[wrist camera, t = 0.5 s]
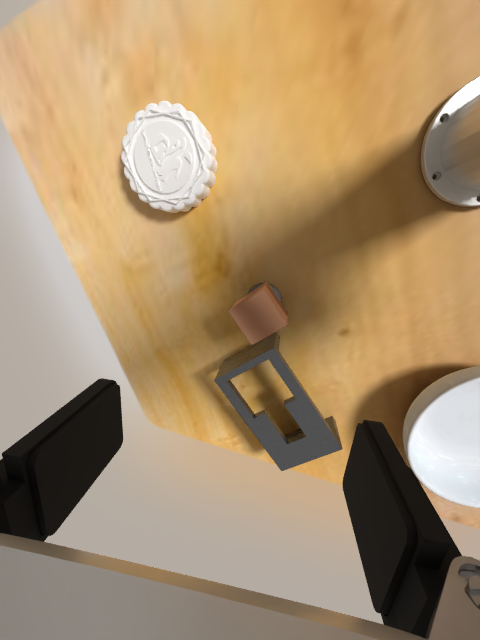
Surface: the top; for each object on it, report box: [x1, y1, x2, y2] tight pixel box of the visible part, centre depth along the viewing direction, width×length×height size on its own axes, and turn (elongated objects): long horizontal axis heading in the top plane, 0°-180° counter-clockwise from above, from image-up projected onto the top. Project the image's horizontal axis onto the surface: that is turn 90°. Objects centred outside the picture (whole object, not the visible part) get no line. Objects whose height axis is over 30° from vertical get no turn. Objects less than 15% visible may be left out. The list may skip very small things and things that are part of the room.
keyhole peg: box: [228, 282, 288, 345], centre depth 34 cm, size 5×5×8 cm
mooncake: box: [121, 101, 218, 213], centre depth 33 cm, size 12×12×4 cm
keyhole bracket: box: [214, 332, 342, 471], centre depth 40 cm, size 18×10×6 cm, turn 34°
